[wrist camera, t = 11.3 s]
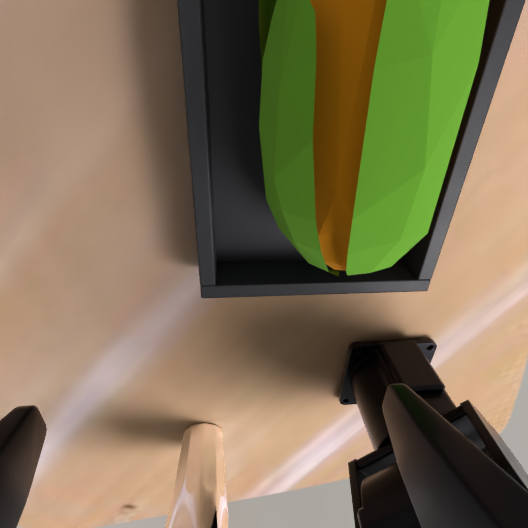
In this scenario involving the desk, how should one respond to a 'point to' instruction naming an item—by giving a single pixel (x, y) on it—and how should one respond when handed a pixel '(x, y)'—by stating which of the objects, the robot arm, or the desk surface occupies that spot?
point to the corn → (362, 120)
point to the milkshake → (200, 481)
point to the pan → (251, 166)
